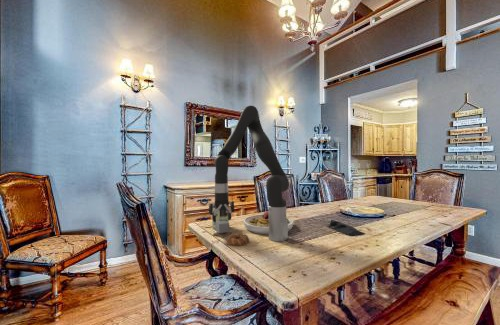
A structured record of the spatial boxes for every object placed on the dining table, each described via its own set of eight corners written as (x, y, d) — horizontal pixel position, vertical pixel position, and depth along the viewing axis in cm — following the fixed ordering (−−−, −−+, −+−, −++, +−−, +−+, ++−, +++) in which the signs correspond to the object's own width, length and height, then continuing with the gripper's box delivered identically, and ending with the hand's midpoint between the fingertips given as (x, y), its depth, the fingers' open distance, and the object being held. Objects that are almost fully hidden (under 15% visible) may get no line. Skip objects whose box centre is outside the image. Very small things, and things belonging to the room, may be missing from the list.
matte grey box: (225, 229, 130) (225, 220, 130) (229, 231, 125) (229, 222, 124) (215, 230, 127) (215, 221, 127) (219, 233, 122) (219, 224, 122)
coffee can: (229, 225, 145) (229, 203, 144) (227, 230, 134) (227, 206, 134) (213, 225, 145) (213, 203, 145) (210, 230, 134) (210, 206, 134)
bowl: (297, 236, 123) (297, 222, 123) (242, 236, 124) (242, 222, 123) (288, 221, 153) (288, 210, 153) (244, 221, 154) (244, 210, 153)
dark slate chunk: (345, 239, 120) (345, 230, 120) (323, 227, 141) (323, 219, 141) (370, 237, 123) (370, 228, 123) (345, 225, 144) (345, 218, 144)
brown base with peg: (231, 234, 127) (231, 223, 127) (223, 237, 121) (223, 226, 121) (221, 231, 131) (221, 221, 131) (213, 235, 125) (213, 224, 125)
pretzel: (232, 249, 106) (232, 241, 106) (222, 242, 115) (222, 234, 115) (253, 243, 113) (253, 236, 113) (242, 237, 122) (242, 230, 122)
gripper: (230, 189, 132) (231, 217, 131) (206, 191, 125) (207, 221, 125) (236, 191, 125) (236, 220, 125) (211, 193, 118) (211, 224, 118)
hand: (221, 220), depth 125 cm, fingers open, 8 cm apart
